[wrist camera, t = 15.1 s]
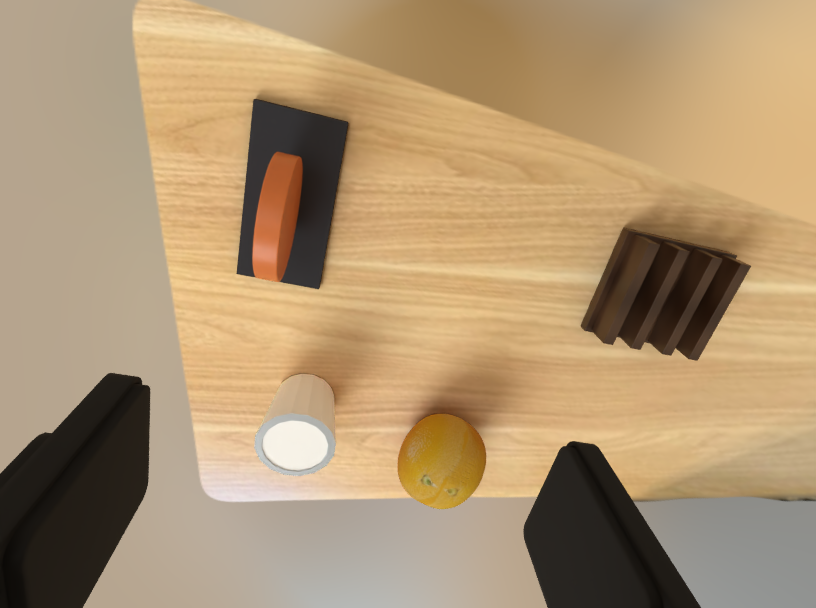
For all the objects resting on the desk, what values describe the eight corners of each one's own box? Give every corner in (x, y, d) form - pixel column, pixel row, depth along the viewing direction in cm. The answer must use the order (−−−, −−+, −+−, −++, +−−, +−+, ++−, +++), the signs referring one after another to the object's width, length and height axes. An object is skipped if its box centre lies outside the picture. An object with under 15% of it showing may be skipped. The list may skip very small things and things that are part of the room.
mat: (255, 98, 34) (253, 98, 34) (348, 122, 36) (348, 122, 35) (238, 271, 40) (236, 274, 39) (319, 286, 41) (318, 289, 41)
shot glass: (320, 357, 44) (312, 402, 38) (352, 410, 47) (349, 460, 41) (256, 384, 45) (237, 432, 38) (291, 434, 48) (279, 487, 41)
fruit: (414, 390, 46) (423, 445, 39) (487, 409, 48) (508, 465, 41) (386, 455, 50) (389, 518, 42) (455, 471, 51) (469, 533, 44)
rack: (623, 227, 41) (644, 238, 38) (729, 252, 43) (758, 265, 39) (580, 326, 45) (596, 344, 42) (679, 345, 47) (702, 363, 43)
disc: (286, 145, 35) (261, 160, 27) (307, 149, 36) (289, 166, 28) (272, 255, 39) (246, 297, 31) (291, 258, 39) (271, 302, 31)
